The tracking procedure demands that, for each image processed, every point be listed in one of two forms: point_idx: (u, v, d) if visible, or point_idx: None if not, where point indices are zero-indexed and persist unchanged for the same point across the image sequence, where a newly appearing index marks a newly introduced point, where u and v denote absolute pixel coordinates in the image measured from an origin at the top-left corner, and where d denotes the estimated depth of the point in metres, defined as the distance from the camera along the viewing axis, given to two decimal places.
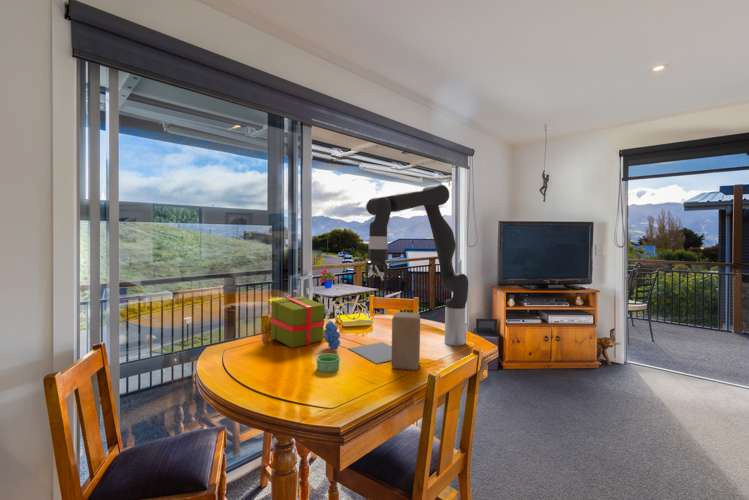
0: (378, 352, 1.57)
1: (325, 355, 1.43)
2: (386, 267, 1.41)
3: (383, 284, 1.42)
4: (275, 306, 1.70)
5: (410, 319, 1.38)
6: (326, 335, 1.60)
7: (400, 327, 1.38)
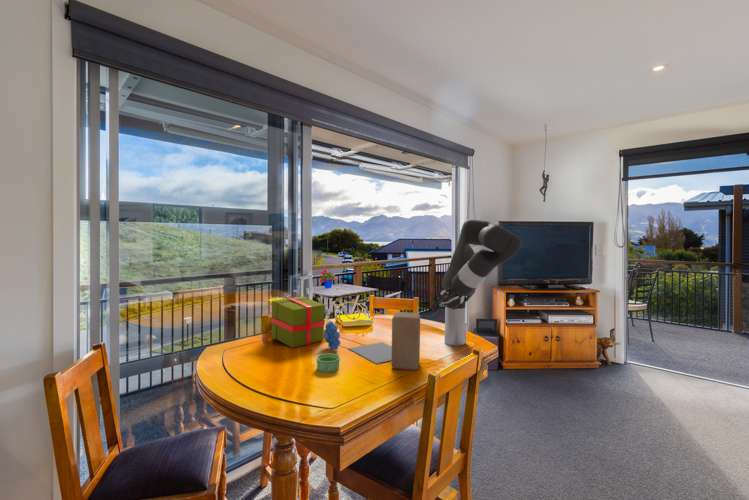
0: (378, 352, 1.57)
1: (325, 355, 1.43)
2: None
3: (458, 305, 1.26)
4: (275, 306, 1.71)
5: (410, 319, 1.38)
6: (326, 335, 1.60)
7: (400, 327, 1.38)
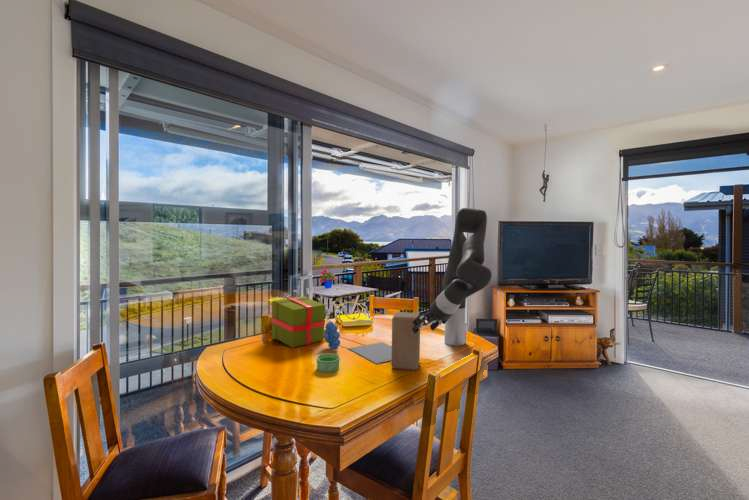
0: (378, 352, 1.57)
1: (325, 355, 1.43)
2: None
3: None
4: (276, 306, 1.71)
5: (410, 319, 1.38)
6: (326, 335, 1.60)
7: (400, 327, 1.38)
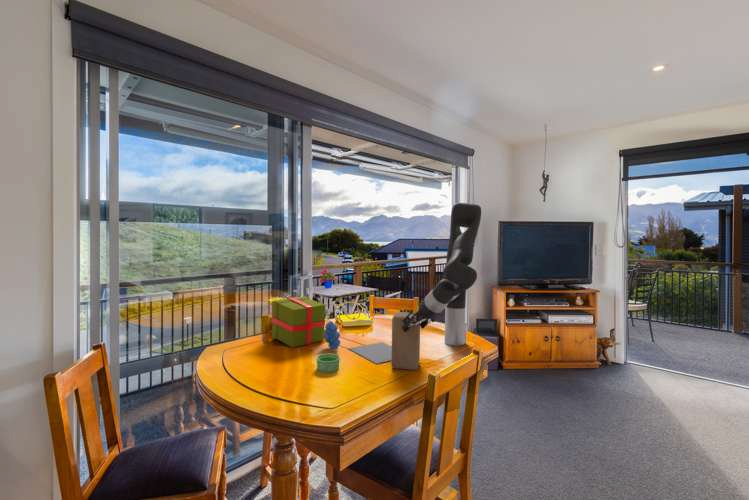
0: (378, 352, 1.57)
1: (325, 355, 1.43)
2: None
3: (426, 324, 1.41)
4: (276, 306, 1.71)
5: None
6: (326, 335, 1.60)
7: (400, 327, 1.38)
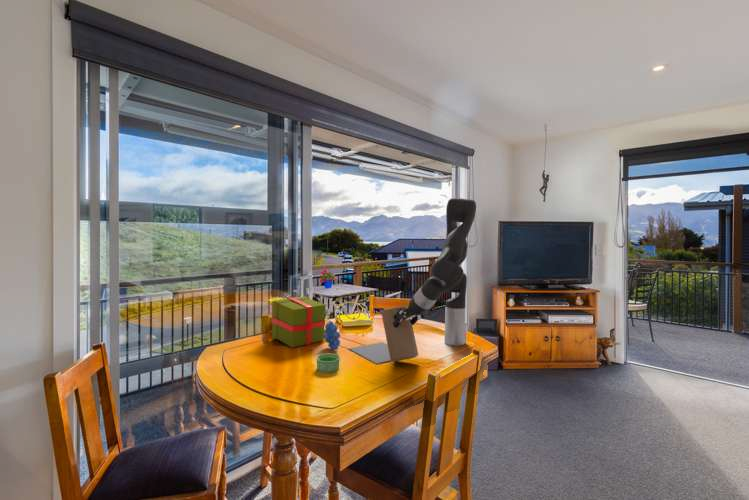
0: (378, 352, 1.57)
1: (325, 355, 1.43)
2: None
3: (416, 321, 1.45)
4: (276, 306, 1.71)
5: (398, 308, 1.44)
6: (326, 335, 1.60)
7: (390, 318, 1.44)
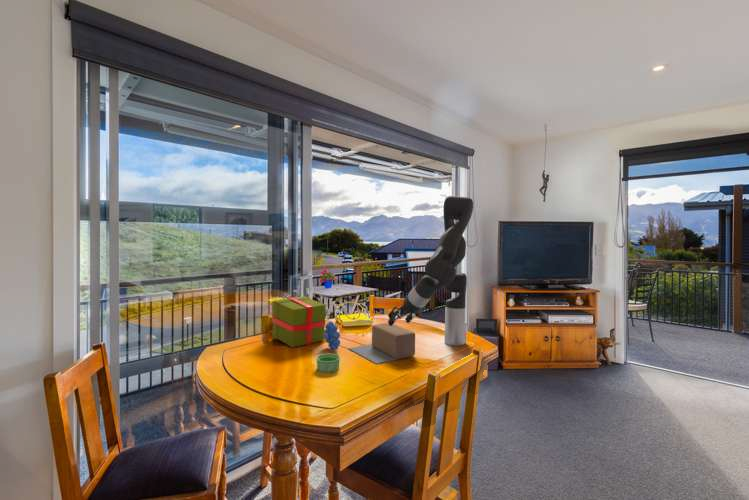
0: (378, 352, 1.57)
1: (325, 355, 1.43)
2: None
3: (411, 319, 1.48)
4: (276, 306, 1.71)
5: (385, 323, 1.68)
6: (326, 335, 1.60)
7: (381, 325, 1.63)
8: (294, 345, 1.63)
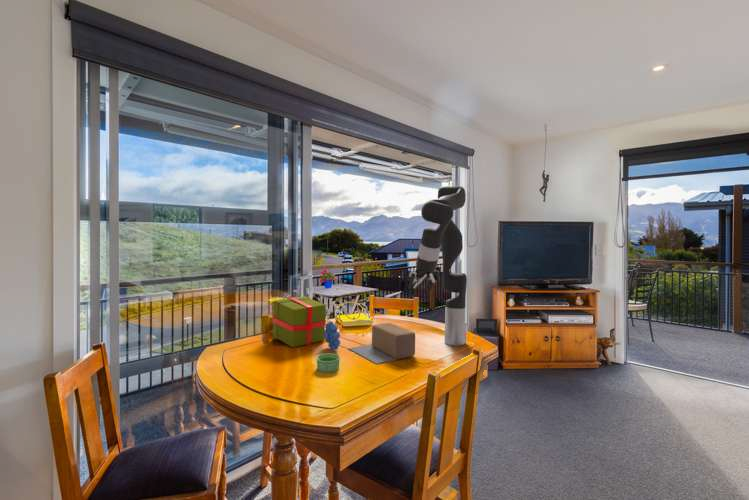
0: (378, 352, 1.57)
1: (325, 355, 1.43)
2: None
3: (432, 285, 1.41)
4: (277, 306, 1.71)
5: (385, 323, 1.68)
6: (326, 335, 1.60)
7: (381, 325, 1.63)
8: (294, 345, 1.63)
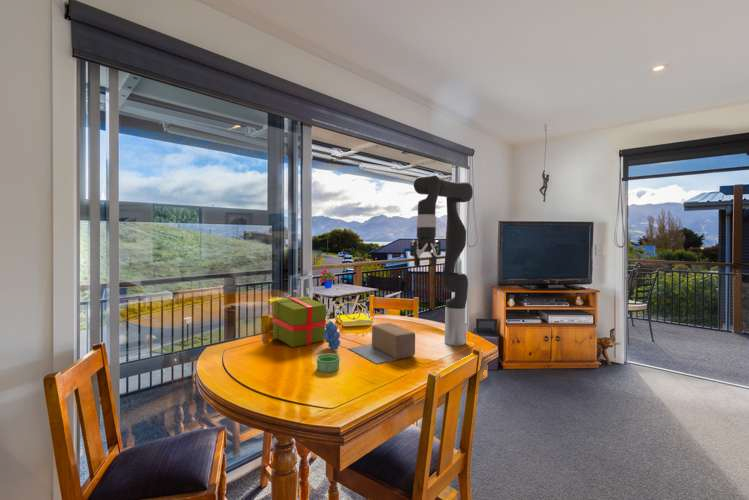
0: (378, 352, 1.57)
1: (325, 355, 1.43)
2: None
3: (436, 260, 1.50)
4: (277, 306, 1.71)
5: (385, 323, 1.68)
6: (326, 335, 1.60)
7: (381, 325, 1.63)
8: (294, 345, 1.63)
